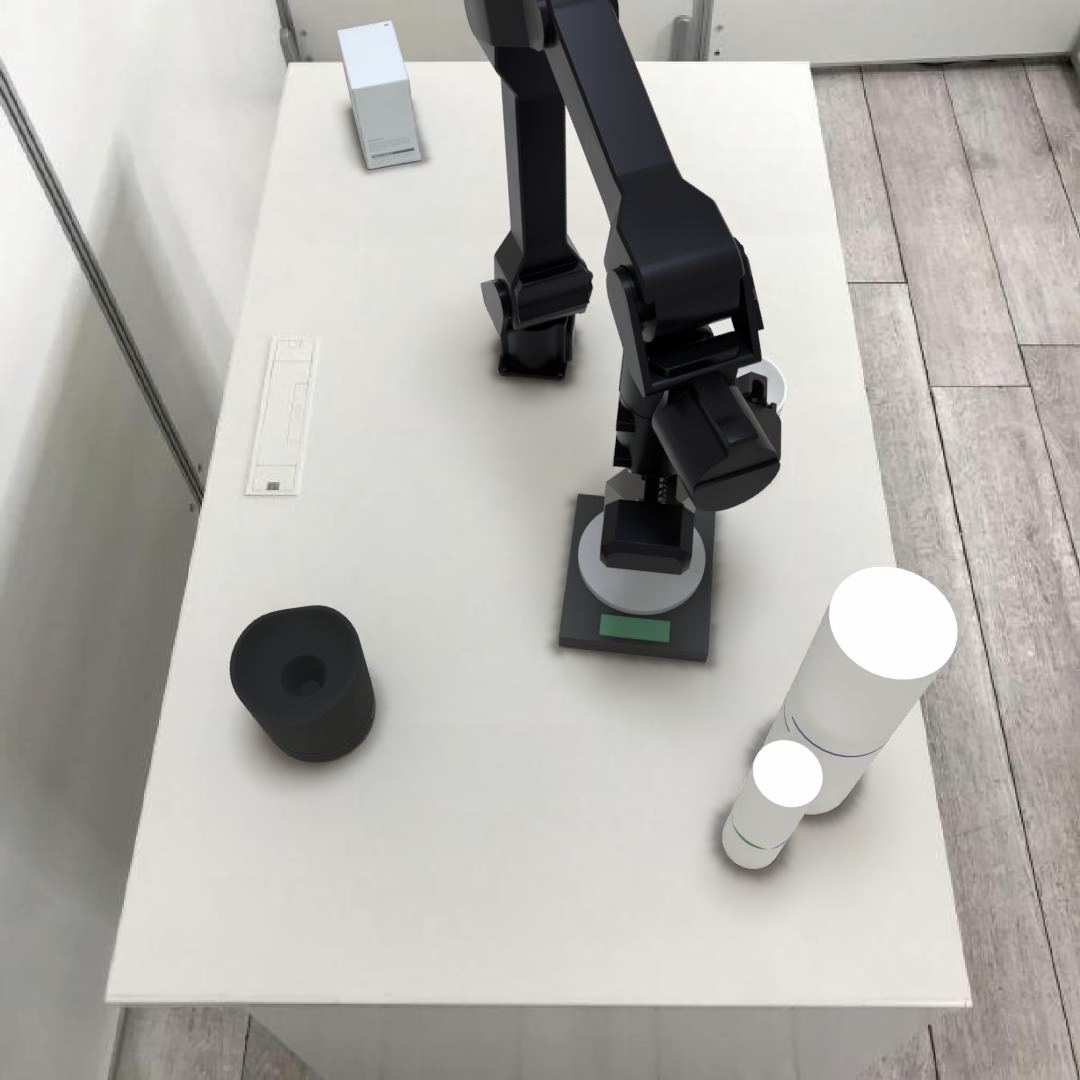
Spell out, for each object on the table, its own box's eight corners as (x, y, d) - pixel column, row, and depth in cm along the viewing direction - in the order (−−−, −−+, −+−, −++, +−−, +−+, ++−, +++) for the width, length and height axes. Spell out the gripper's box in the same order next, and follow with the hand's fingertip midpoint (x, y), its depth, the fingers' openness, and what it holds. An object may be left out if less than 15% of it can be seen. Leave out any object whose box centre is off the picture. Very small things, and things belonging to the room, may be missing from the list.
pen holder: (332, 791, 81) (306, 745, 73) (238, 730, 84) (202, 679, 76) (404, 694, 85) (387, 639, 77) (312, 638, 88) (285, 580, 80)
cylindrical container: (793, 831, 79) (880, 700, 58) (740, 749, 83) (804, 598, 61) (871, 787, 81) (984, 645, 59) (816, 709, 84) (904, 547, 63)
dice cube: (645, 559, 83) (649, 525, 79) (603, 516, 85) (605, 481, 81) (692, 524, 84) (699, 489, 80) (650, 484, 86) (655, 447, 82)
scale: (558, 646, 87) (558, 632, 85) (577, 504, 95) (578, 487, 92) (705, 662, 86) (709, 648, 84) (713, 517, 94) (717, 501, 91)
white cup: (762, 498, 95) (783, 429, 86) (674, 484, 96) (686, 414, 87) (771, 428, 99) (791, 356, 90) (686, 415, 100) (698, 343, 91)
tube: (717, 813, 80) (747, 743, 67) (773, 808, 80) (814, 737, 67) (727, 871, 78) (760, 810, 65) (785, 866, 78) (829, 803, 65)
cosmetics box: (351, 112, 123) (335, 27, 114) (406, 102, 124) (394, 18, 115) (365, 171, 118) (349, 87, 109) (422, 161, 119) (411, 77, 110)
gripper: (784, 519, 65) (746, 631, 78) (787, 294, 75) (752, 429, 88) (603, 500, 66) (595, 615, 79) (628, 281, 75) (618, 416, 89)
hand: (646, 514), depth 84 cm, fingers closed on dice cube, 6 cm apart
